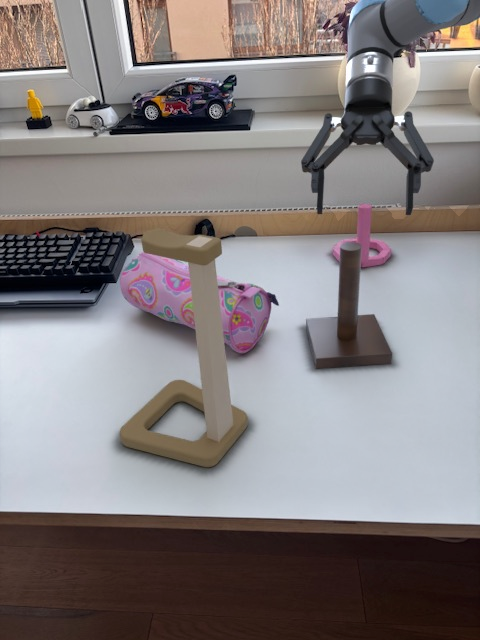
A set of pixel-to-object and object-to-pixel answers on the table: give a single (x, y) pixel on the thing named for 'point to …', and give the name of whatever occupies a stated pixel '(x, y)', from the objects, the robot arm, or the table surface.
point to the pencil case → (176, 299)
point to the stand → (348, 323)
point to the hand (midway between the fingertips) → (363, 211)
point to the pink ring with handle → (366, 240)
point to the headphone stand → (215, 393)
